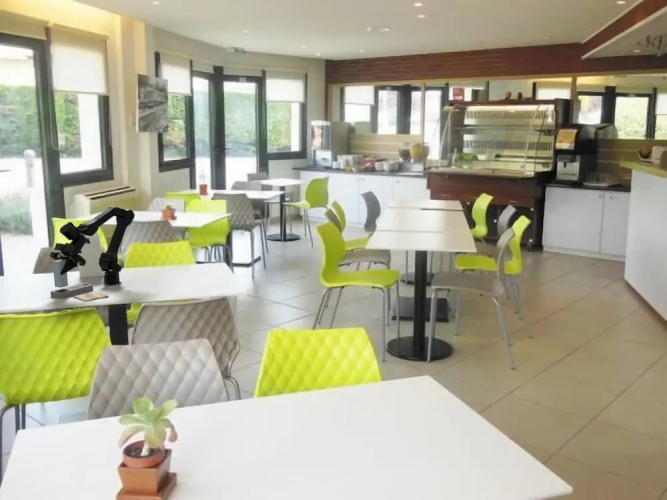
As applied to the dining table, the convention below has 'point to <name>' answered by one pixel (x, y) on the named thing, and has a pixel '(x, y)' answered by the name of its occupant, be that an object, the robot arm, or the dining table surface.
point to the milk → (91, 257)
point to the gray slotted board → (71, 290)
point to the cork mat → (90, 296)
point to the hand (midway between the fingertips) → (57, 273)
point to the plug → (58, 278)
